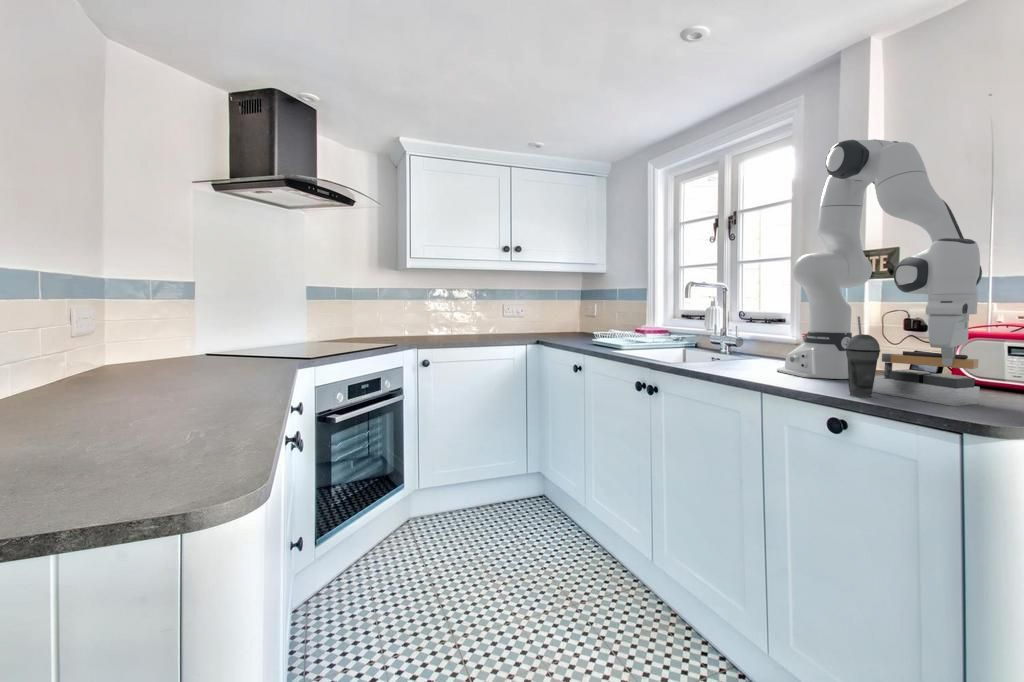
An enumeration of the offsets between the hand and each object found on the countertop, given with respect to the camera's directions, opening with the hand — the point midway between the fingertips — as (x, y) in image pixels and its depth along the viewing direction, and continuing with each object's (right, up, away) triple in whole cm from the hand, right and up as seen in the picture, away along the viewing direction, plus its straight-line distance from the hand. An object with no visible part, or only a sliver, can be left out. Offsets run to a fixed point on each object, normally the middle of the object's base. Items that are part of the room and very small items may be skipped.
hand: (948, 365), depth 118 cm
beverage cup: (-16, -8, +7) cm, 19 cm away
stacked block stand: (-2, -8, +5) cm, 10 cm away
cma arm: (0, 0, +6) cm, 6 cm away
